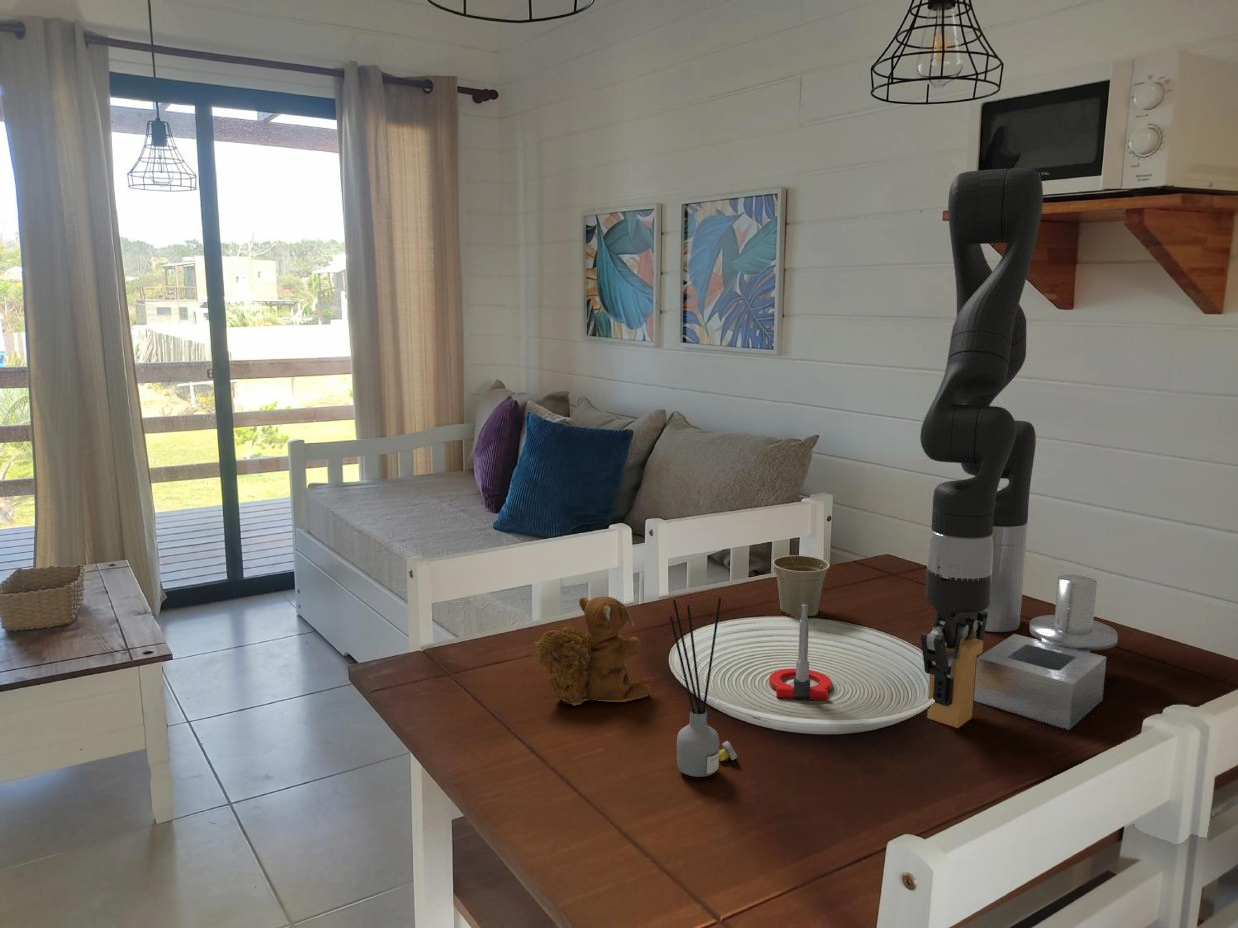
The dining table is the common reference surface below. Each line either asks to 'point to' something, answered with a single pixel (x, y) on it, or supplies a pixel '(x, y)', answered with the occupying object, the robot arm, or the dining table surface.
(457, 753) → the dining table surface
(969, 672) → the wedge pin
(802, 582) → the flower pot
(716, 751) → the reed diffuser
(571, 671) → the stuffed squirrel
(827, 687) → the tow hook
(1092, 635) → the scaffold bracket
